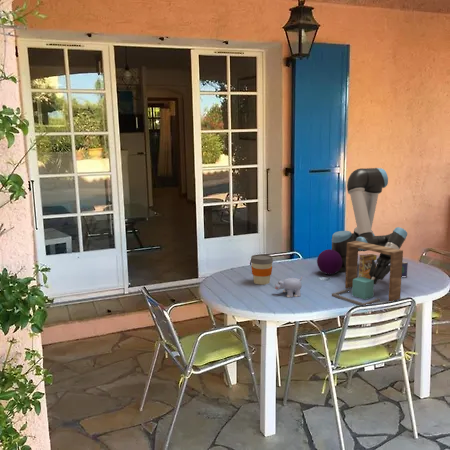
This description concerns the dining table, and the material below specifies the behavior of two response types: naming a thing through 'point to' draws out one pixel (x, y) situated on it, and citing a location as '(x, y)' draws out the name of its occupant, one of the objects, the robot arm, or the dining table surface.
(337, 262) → the toy ball
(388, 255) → the robot arm
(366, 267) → the candy box
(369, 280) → the teal block
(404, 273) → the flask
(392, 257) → the tunnel
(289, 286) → the hippopotamus toy
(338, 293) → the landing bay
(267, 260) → the reusable coffee cup
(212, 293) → the dining table surface
